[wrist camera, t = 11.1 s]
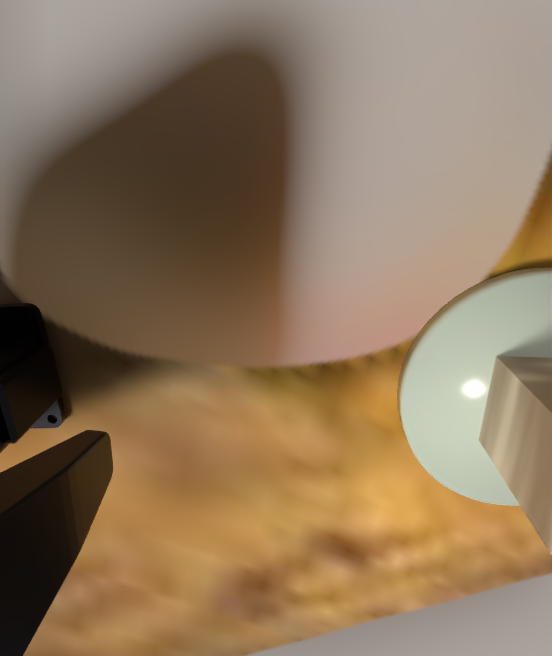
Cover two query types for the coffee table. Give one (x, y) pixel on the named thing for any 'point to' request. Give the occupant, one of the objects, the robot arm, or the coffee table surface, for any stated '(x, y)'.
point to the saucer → (470, 376)
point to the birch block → (522, 434)
